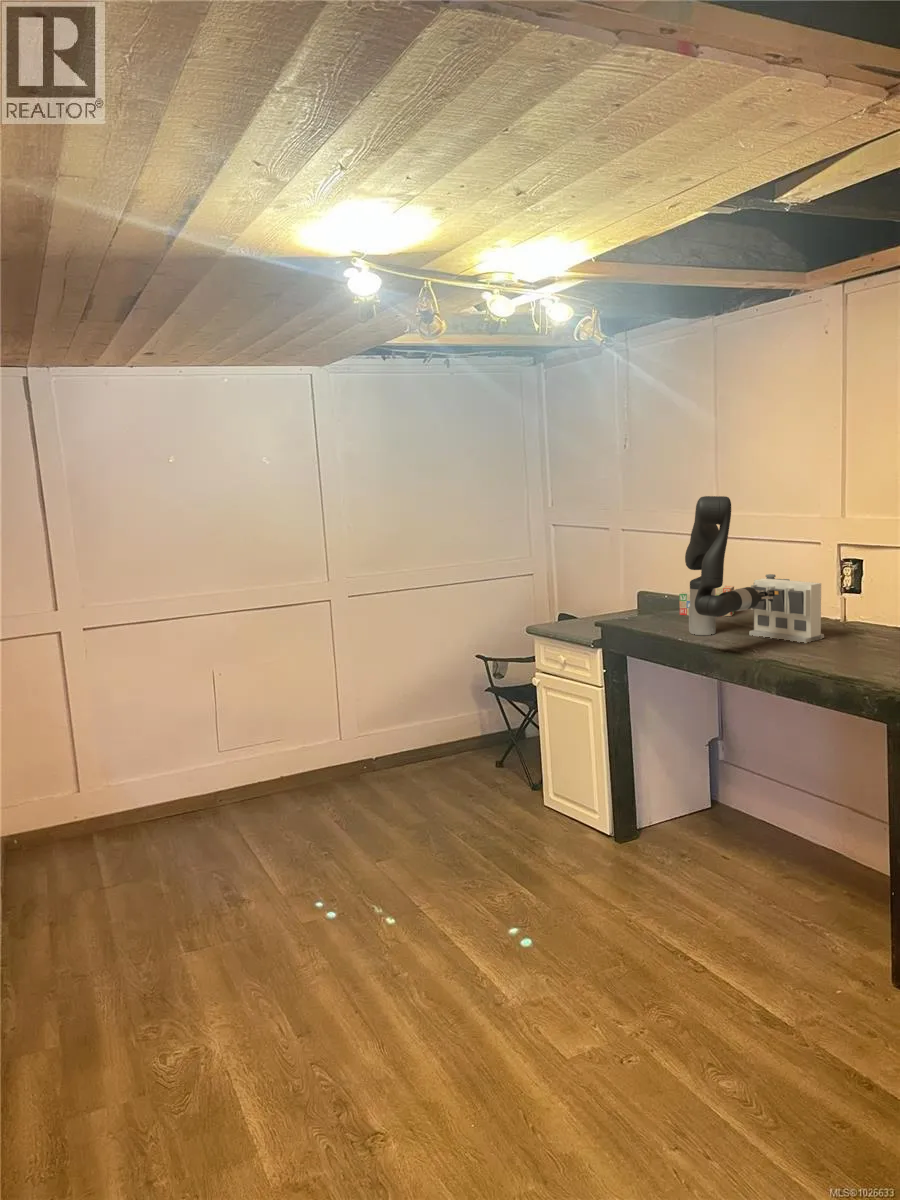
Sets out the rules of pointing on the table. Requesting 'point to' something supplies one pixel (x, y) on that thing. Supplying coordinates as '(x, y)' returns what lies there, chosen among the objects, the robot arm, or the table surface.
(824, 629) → the table surface
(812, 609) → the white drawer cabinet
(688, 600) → the stack of blocks
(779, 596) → the outlet rocker
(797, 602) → the outlet rocker
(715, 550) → the robot arm
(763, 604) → the rocker switch
